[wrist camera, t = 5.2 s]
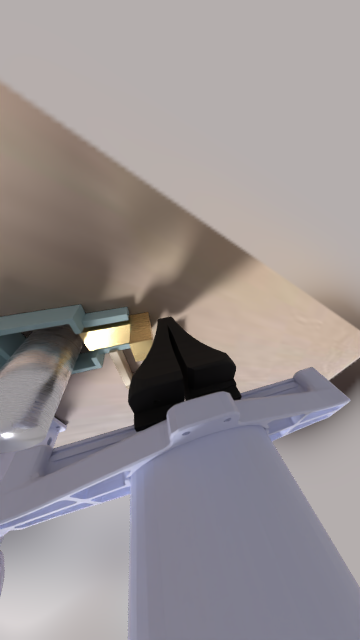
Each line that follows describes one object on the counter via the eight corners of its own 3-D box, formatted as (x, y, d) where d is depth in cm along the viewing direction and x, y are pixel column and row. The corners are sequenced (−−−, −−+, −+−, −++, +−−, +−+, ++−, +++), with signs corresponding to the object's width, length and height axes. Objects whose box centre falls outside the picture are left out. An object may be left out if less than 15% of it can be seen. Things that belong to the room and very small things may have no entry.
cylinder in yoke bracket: (91, 346, 14) (60, 438, 8) (50, 354, 14) (-14, 460, 8) (73, 316, 12) (15, 412, 6) (24, 324, 12) (-91, 438, 6)
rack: (179, 365, 19) (181, 375, 18) (127, 378, 18) (127, 389, 17) (175, 329, 16) (178, 338, 14) (111, 342, 15) (108, 353, 13)
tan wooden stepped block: (151, 328, 15) (155, 357, 12) (92, 340, 14) (81, 374, 11) (148, 312, 14) (151, 339, 11) (83, 323, 13) (67, 356, 10)
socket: (139, 344, 16) (140, 382, 12) (37, 365, 14) (4, 416, 11) (124, 297, 12) (120, 331, 9) (-11, 318, 11) (-82, 369, 7)
